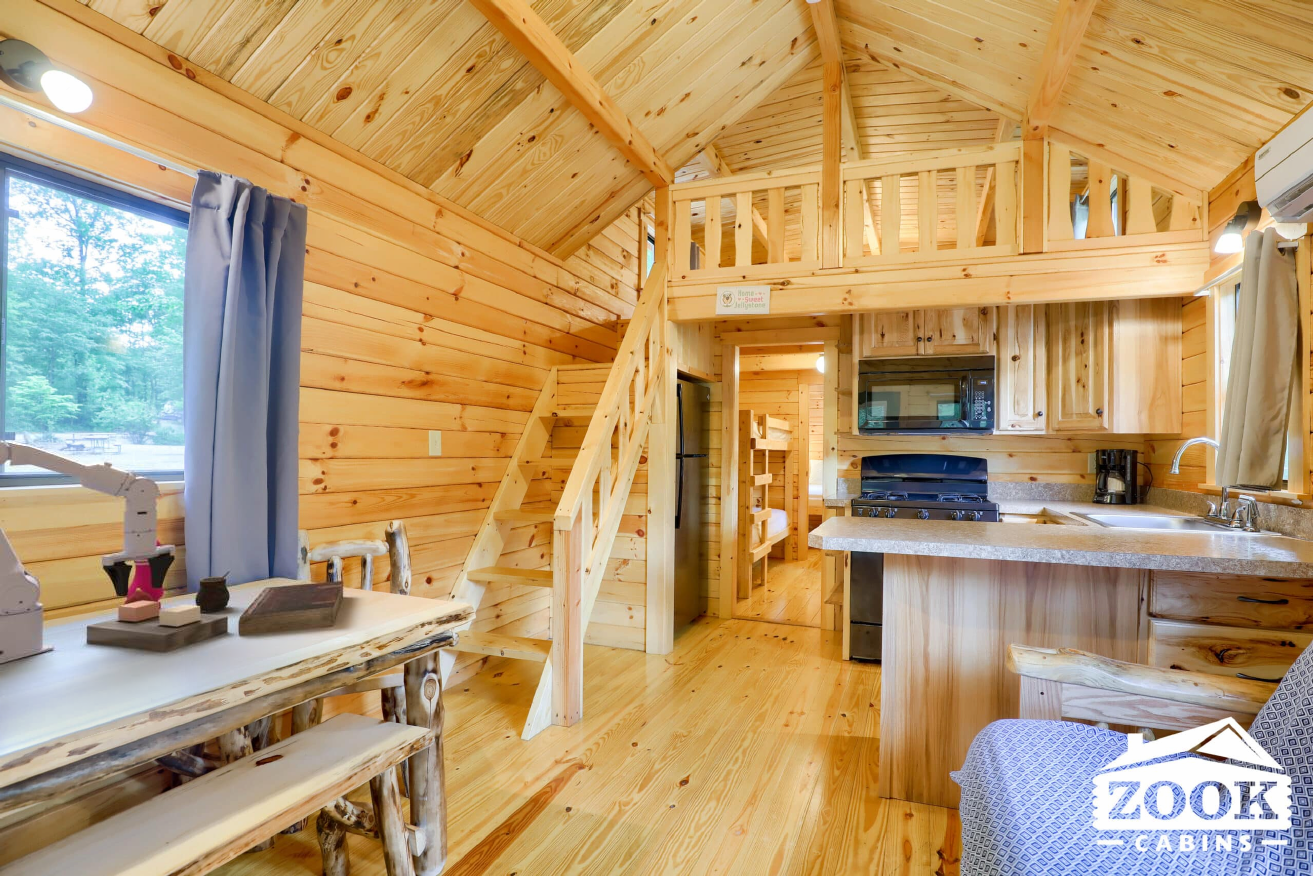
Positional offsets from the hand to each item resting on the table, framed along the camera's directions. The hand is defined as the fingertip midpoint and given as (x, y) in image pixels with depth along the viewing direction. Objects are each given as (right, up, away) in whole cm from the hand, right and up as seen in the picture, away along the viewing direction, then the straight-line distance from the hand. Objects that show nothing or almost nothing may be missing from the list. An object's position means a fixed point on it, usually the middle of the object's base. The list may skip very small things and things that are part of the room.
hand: (139, 591), depth 140 cm
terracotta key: (0, -6, -1) cm, 6 cm away
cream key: (+12, -6, -4) cm, 14 cm away
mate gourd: (+3, -10, +19) cm, 22 cm away
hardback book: (+26, -10, +16) cm, 32 cm away
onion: (-7, -10, +9) cm, 15 cm away
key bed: (+6, -9, -2) cm, 11 cm away
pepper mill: (-13, -10, +18) cm, 24 cm away
